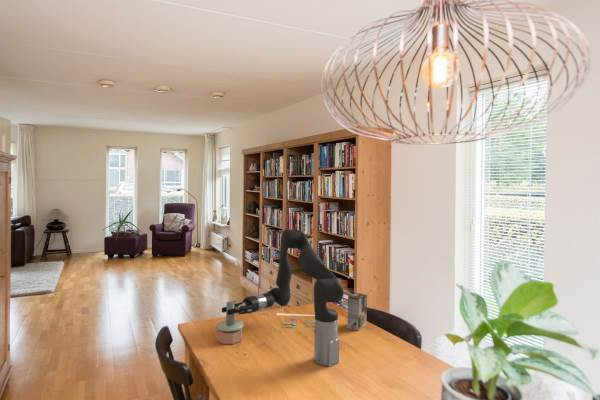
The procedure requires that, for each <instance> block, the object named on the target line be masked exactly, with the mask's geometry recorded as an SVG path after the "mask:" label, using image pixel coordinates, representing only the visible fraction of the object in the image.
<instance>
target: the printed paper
mask: <svg viewBox="0 0 600 400" xmlns="http://www.w3.org/2000/svg"><path fill="white" fill-rule="evenodd" d="M276 316H288V317H285V320H284V322H281V325H285V326H282V327H283V328H287V327H289V328H290V329H292V328H296V327H295V326H296V325H297V324H298V321H297V320H298V318H297V317H294V316H299V317H300V316H301V317H304V316H306V317H315V314H301V313H300V314H298V313H297V314H296V313H281V312H277V313H276ZM289 316H291V317H292V316H293V317H292V318H291V317H290V318H289ZM286 319H290V320H291V321H290V320H286ZM286 322H289V323H290V324H291V325H288V323H286ZM304 324H305V325H304V326H308V324H312V327H311V328H310V329H311V330H315V319H312V321H309V319H307V318H306V320H305V321H304ZM287 325H288V326H287ZM302 329H306V330H308V328H306V327H303V328H302Z"/></svg>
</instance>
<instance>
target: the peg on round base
mask: <svg viewBox="0 0 600 400" xmlns="http://www.w3.org/2000/svg"><path fill="white" fill-rule="evenodd" d="M225 307H226V312H225V313H226V314H225V316H226V317H225V318H226V320H222V321H219V322H218V323H216V329H217V331H218V330H220V331H226V332H231V331H237V330H240V329H242V330H243V328H244V322H243V321H241V320H237V319H235V313H234V314H231V315H228V314H227V310H229V309H233V308H234V302H233V301H226V303H225Z"/></svg>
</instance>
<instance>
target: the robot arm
mask: <svg viewBox="0 0 600 400" xmlns="http://www.w3.org/2000/svg"><path fill="white" fill-rule="evenodd" d="M311 245H312V244H311V243H310V242H309V240H308V238H307V237H306V235H305V233H304V232H303V231H302V230H299V229H290V228H289V229H288V228H287V229H283V231H282V233H281V237H280V243H279V263H278V271H277V276H276V280H275V285H276V286H277V287H273V288H272V289H270V290H268V291H267V292H265V293H261V294H254V295H251V296H246V297H244V298H243V300H242V301H238V302H236V301H235V300H234V301H232V302H234V308H233V309H229V310H227V314H228V315H231V314H234V315H237V314H238V315H246V314H252V313H255V312H259V311H262V310H264V309H268V308H270V307H273V306H274V304H275V303H276V304H277V305H278V306H281V307H286V306H287V305H288V304H289V303H290V300H291V286H290V284H291V279H292V277H293V276H292V275H293V274H292V273H293V269H292V266H291V263H290V261H289V258H288V257H289V256H288V249H295V250H296V249H297V250H299V251H300V252H299V255H298V257H297V260H298V265H299V266H300V267H301V269H302V271H303V272H304V273H305V274H306V275H307V276H309V277H311V278H313V279H315V280H316V281H315V282H314V284H313V285H314V286H313V305H314V306H313V309H314V310H313V311H314V315H315V316H314V320H315V321H314V322H315V323H314V325H315V326H314V328H315V329H314V344H313V347H314V352H313V358H314V359H313V361H314V363H316V364H318V365H320V366H326V367H332V366H334V365H335V364H338V363H340V338H339V337H338V331H339V329H338V328H339V323H338V322H339V313H338V311H337V310H335V309H334V308H329V307H327V303H335V302H339V301H340V300H342V299H343V298H344V294H345V293H344V288H343V284H342V283H341V281H340V279H338V277H337V276H336V275H335V274H334V273H333V272H331V270H330V269H329V268H328V267H327V266H326V264H325V263H324V261H323V260H322V259H321V257H320V256H319V254H318V253H317V252H316V251H315V250H314V248H313V247H312V246H311ZM221 313H223V314H224V313H226V306H224V307H221Z"/></svg>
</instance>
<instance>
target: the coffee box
mask: <svg viewBox="0 0 600 400" xmlns="http://www.w3.org/2000/svg"><path fill="white" fill-rule="evenodd" d="M367 300H368V295H367V294H363V293H360V292H355V293H353V294H351V295H348V296H347V329H350V330H353V329H354V330H353V331H356V330H359V331H361V330H363V329H364V328H365V327H367V316H368V315H367V312H368V311H367V306H368V303H367V302H368V301H367ZM363 327H364V328H363ZM360 329H361V330H360Z"/></svg>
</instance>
